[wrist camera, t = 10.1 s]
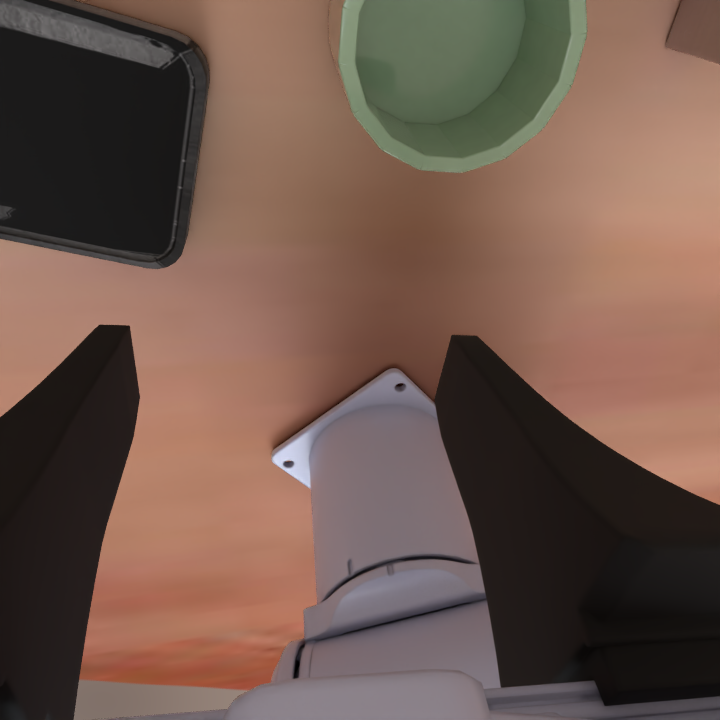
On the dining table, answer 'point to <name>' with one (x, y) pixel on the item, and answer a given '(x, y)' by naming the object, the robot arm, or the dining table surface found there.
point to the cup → (455, 73)
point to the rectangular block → (697, 29)
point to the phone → (98, 131)
